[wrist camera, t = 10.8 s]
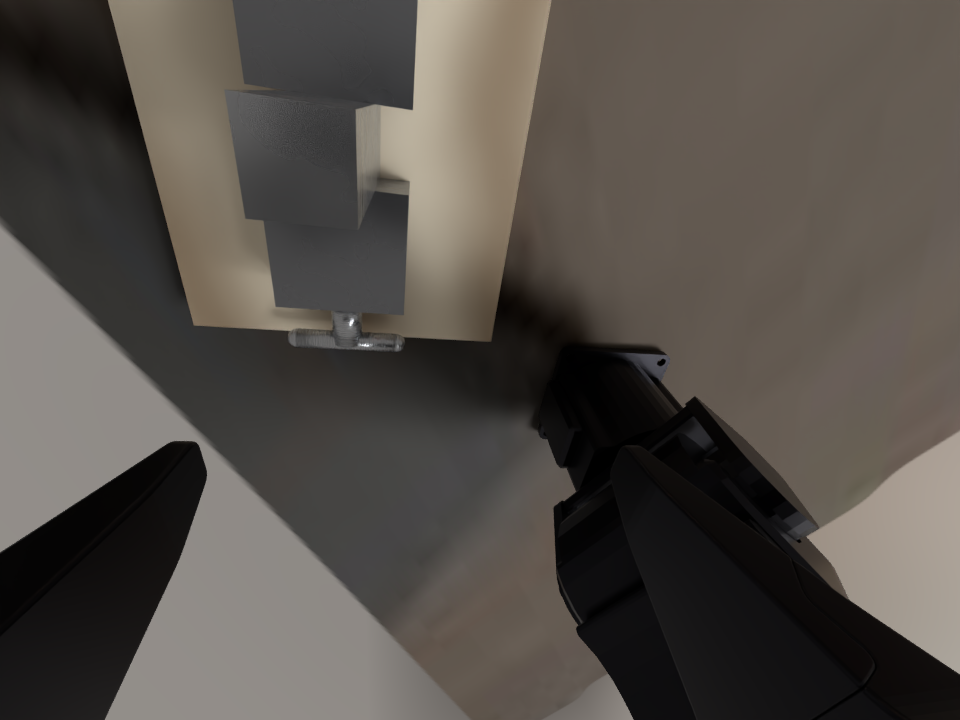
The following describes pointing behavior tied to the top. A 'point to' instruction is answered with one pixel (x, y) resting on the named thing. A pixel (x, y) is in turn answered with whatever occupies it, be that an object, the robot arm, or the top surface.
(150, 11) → the board
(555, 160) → the top surface
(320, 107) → the bench vise
